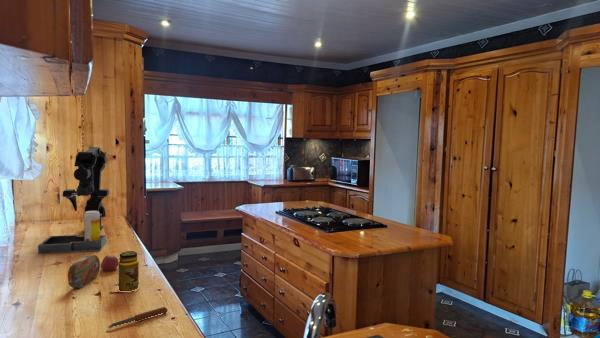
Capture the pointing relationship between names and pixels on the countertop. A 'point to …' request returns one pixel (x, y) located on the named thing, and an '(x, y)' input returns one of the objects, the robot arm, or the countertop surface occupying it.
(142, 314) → the kitchen knife
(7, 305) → the countertop surface
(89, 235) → the beer can
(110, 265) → the fruit
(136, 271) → the condiment
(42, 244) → the keyhole plate
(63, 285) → the countertop surface
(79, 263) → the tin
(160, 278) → the countertop surface
